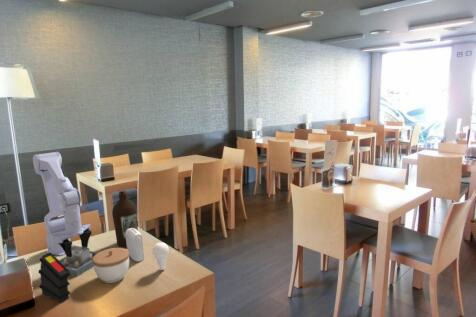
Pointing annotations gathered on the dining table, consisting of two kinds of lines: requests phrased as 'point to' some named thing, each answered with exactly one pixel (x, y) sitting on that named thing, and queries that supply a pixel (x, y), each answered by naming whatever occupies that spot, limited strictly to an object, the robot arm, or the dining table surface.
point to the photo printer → (134, 244)
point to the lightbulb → (160, 254)
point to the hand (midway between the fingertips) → (77, 252)
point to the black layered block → (54, 278)
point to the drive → (79, 255)
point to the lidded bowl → (111, 264)
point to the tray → (77, 269)
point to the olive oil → (124, 217)
